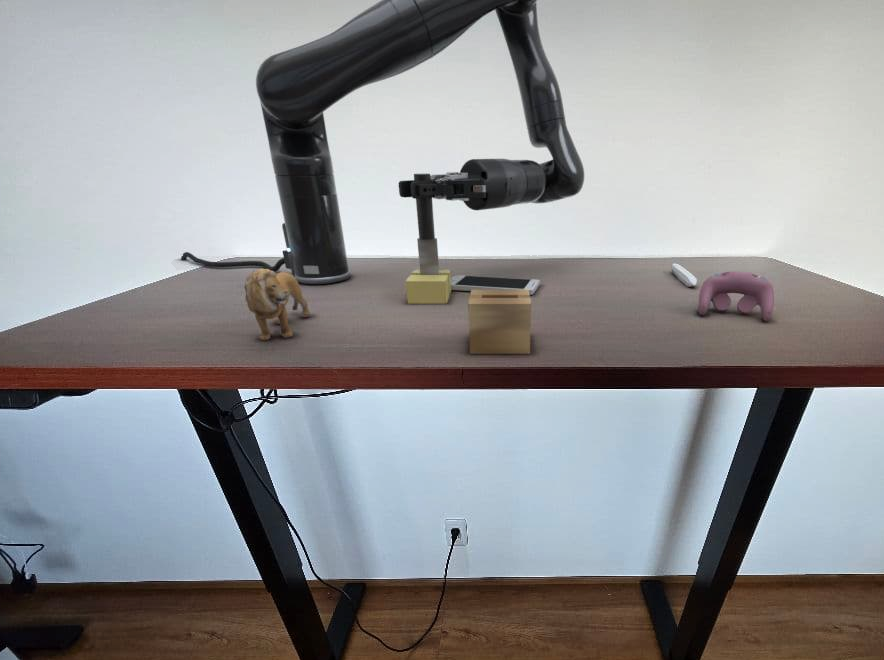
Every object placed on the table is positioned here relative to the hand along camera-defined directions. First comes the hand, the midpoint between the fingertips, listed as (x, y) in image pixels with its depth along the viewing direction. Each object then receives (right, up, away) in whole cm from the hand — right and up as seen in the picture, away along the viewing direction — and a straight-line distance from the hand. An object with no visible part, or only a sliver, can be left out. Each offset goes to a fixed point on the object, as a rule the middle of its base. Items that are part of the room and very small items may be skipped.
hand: (406, 189), depth 69 cm
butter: (+2, -13, +9) cm, 16 cm away
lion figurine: (-15, -21, -6) cm, 26 cm away
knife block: (+14, -24, -10) cm, 29 cm away
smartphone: (+12, -11, +14) cm, 21 cm away
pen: (+47, -8, +20) cm, 51 cm away
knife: (+2, -12, +9) cm, 15 cm away
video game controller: (+47, -18, +1) cm, 50 cm away
